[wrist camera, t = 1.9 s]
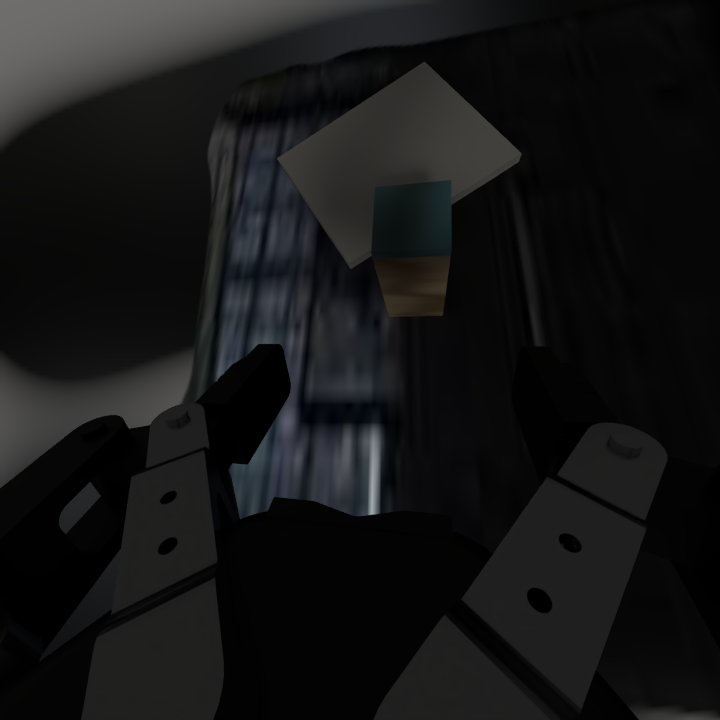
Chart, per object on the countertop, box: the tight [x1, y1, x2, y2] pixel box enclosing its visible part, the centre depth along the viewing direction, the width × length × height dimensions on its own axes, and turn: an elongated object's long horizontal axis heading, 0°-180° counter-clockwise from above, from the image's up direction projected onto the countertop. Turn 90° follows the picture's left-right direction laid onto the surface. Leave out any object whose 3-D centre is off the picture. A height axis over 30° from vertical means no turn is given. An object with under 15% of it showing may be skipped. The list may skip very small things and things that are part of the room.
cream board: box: [277, 62, 521, 269], centre depth 35 cm, size 20×17×1 cm
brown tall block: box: [371, 180, 452, 316], centre depth 26 cm, size 5×5×11 cm
